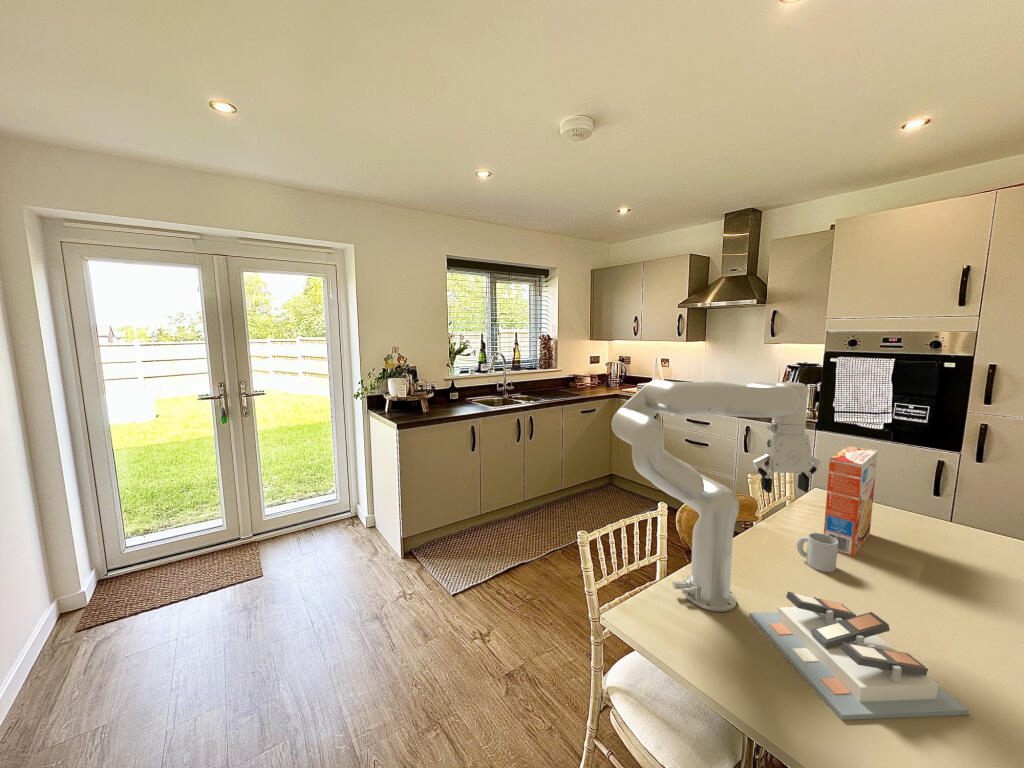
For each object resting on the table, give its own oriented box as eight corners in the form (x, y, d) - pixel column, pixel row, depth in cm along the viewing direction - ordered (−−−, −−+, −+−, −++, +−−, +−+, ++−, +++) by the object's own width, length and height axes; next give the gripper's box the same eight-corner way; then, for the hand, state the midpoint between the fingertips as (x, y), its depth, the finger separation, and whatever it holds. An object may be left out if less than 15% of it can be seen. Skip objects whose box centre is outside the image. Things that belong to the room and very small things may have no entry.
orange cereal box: (853, 556, 130) (862, 464, 127) (822, 546, 137) (829, 458, 133) (869, 533, 145) (877, 450, 142) (841, 525, 151) (847, 446, 148)
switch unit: (841, 719, 76) (844, 684, 75) (749, 616, 103) (750, 589, 103) (968, 714, 76) (972, 679, 75) (842, 613, 104) (845, 586, 103)
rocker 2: (826, 649, 87) (824, 642, 87) (811, 635, 91) (810, 628, 91) (889, 630, 87) (888, 623, 87) (872, 617, 91) (871, 611, 91)
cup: (833, 576, 120) (835, 547, 119) (792, 562, 127) (794, 535, 126) (838, 566, 125) (840, 538, 124) (798, 554, 132) (800, 527, 131)
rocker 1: (798, 608, 95) (800, 601, 95) (786, 597, 99) (788, 590, 98) (854, 621, 96) (856, 614, 95) (839, 609, 100) (842, 603, 99)
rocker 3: (858, 664, 79) (860, 657, 79) (840, 649, 83) (843, 641, 83) (925, 676, 80) (928, 668, 79) (905, 659, 84) (908, 652, 83)
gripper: (763, 432, 106) (760, 496, 108) (831, 431, 106) (827, 495, 108) (747, 426, 114) (744, 486, 116) (811, 424, 113) (807, 485, 115)
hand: (784, 490), depth 112 cm, fingers open, 9 cm apart
